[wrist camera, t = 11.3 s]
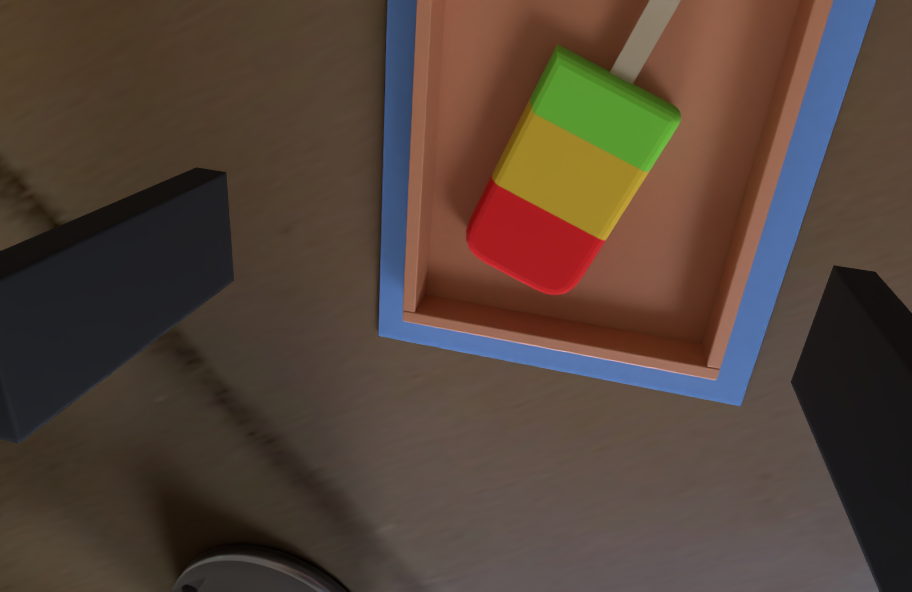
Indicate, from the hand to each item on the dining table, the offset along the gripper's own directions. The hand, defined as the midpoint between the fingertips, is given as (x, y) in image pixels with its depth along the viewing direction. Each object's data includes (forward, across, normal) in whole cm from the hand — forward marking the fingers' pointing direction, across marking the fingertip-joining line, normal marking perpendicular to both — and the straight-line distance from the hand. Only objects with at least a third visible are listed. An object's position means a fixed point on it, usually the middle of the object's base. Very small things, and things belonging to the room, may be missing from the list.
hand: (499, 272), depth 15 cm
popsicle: (+15, -2, -1) cm, 15 cm away
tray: (+15, -1, -1) cm, 15 cm away
